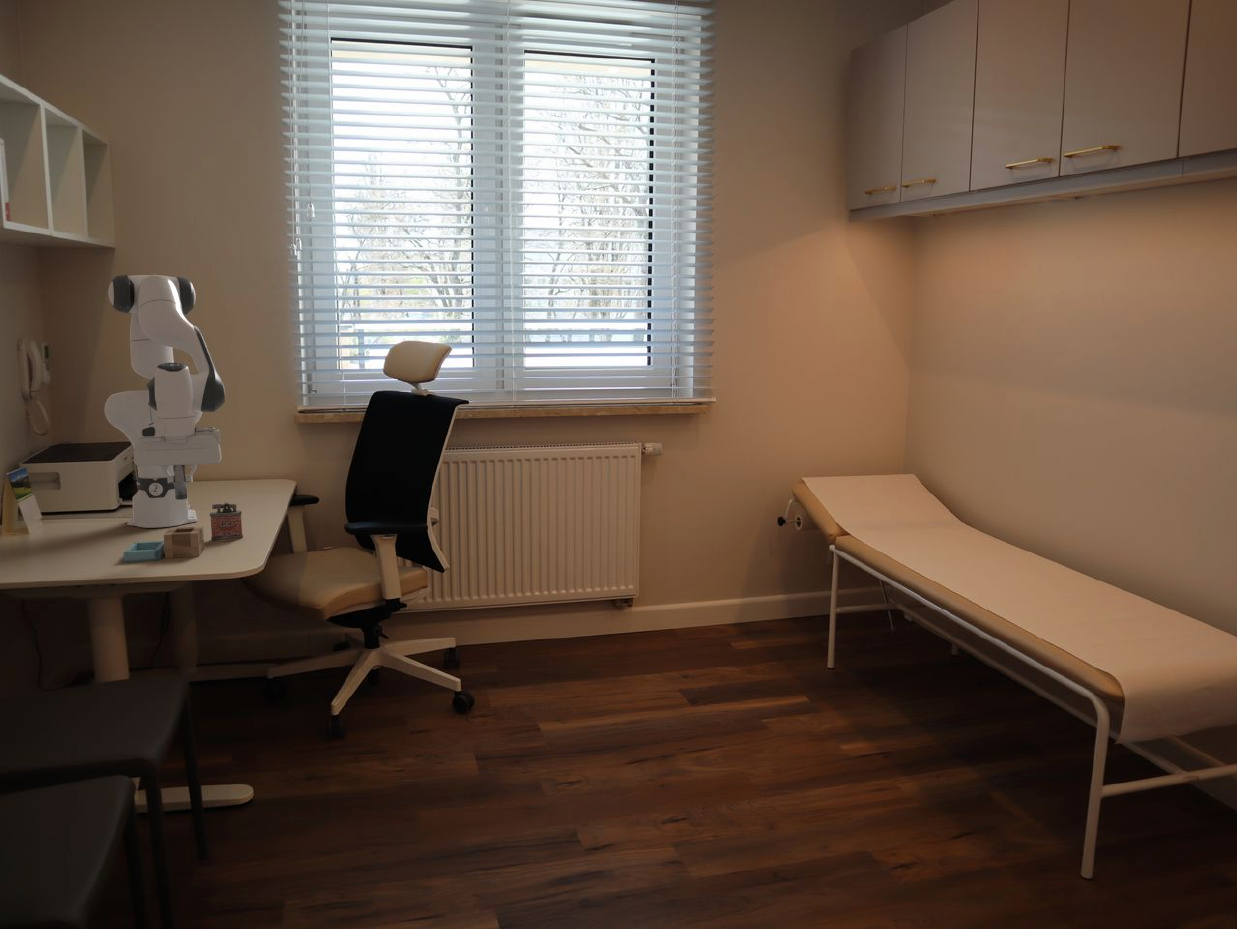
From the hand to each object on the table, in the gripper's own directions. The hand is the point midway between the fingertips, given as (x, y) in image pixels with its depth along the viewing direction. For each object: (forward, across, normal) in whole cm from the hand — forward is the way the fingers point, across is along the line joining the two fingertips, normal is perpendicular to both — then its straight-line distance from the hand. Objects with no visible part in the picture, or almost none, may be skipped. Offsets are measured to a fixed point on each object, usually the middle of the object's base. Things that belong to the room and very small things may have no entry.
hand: (180, 482), depth 251 cm
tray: (+18, +9, 0) cm, 21 cm away
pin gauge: (+4, 0, 0) cm, 4 cm away
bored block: (+18, 0, 0) cm, 19 cm away
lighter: (+19, -8, -15) cm, 25 cm away
